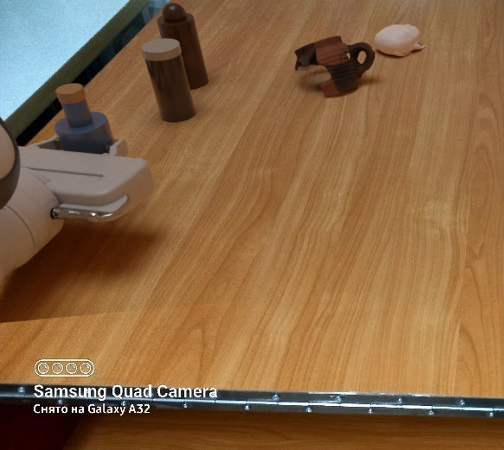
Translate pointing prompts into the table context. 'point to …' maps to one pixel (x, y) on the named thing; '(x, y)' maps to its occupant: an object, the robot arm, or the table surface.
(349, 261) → the table surface
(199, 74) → the pepper mill
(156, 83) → the salt shaker
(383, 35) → the pale pink rounded lump
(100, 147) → the blue bottle
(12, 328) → the table surface
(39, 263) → the table surface
